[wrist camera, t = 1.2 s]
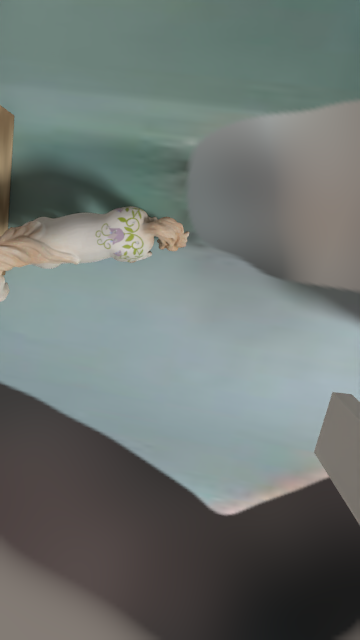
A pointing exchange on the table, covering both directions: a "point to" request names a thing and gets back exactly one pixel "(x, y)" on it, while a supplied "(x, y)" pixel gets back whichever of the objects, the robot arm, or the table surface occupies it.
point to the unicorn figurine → (86, 239)
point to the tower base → (5, 166)
